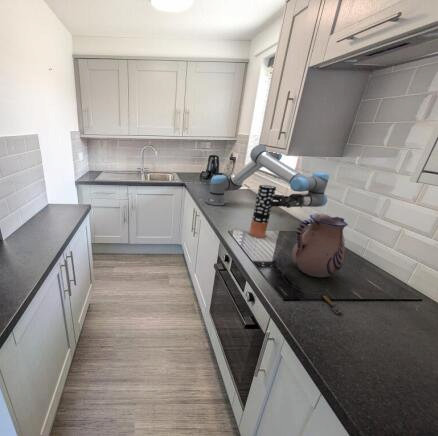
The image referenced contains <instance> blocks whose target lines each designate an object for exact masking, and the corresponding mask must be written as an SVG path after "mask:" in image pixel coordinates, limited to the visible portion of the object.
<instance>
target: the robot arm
mask: <svg viewBox="0 0 438 436" xmlns="http://www.w3.org/2000/svg"><path fill="white" fill-rule="evenodd" d="M264 145H265V144H257V145H256V146H254V147H253V148H252V149H251V150H250V155H249V157H250V159H251V160H250V161H249V162H248V163H247V164H245V165H244V166H243V167H242V168H241V169H239V170H238V171H236V172H233V173H232V174H230V175H229V176H226V175H225V174H224V175H223V174H216V175H213V176H212V177H211V180H210V188H209V193H208V196H207V198H206V201H205V203H206V204H208V205H211V206H217V207H220V206H225V205H226V199H225V192H228V191H238V190H240V189H241V188H242V187H243V184H244V181H246V180H247V179H249V177H251V176H252V175H254V174H255V173H256V172H258V171H259V170H260V169H262V168H264V169H266V170H268V171H269V172H271V174H274V175H275V176H277V177H278V178H280V179H281V180H282V181H284V182H285V183H287V184H288V185H289V187H290V189H291V190H292V191H293V192H300V193H291V194H289V195H284V194H275V195H274V199H273V201H271V205H270V206H271V207H272V208H274V207H275V208H276V207H278V208H279V207H283V208H287V209H290V208H301V209H302V208H305V207H306V208H307V207H308V208H319V207H324V206H326V205H327V203H328V196H327V195H326V194H325V192H326V188H327V186H328V183H329V178H330V174H329V173H327V172H321V171H320V172H318V171H315V172H313V173H312V176H305V175H303V174H302V173H300V172H298V171H297V170H296V169H294V168H292V167H291V166H289V165H287V164H286V163H284V162H283V161H280V160H281V159H282V157H283V154H282V155H281V154H277V153H273V152H268V151H266V147H265V146H264ZM301 192H307V193H301ZM255 200H257V197H256V198H255Z"/></svg>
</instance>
